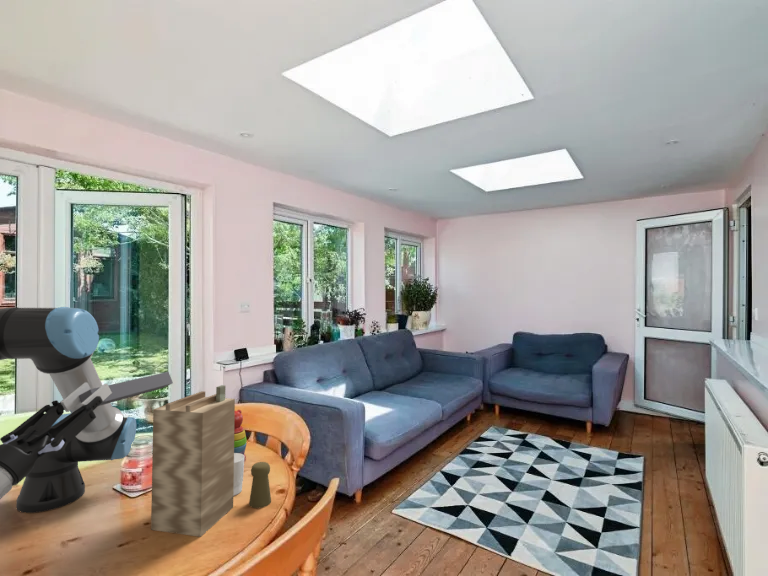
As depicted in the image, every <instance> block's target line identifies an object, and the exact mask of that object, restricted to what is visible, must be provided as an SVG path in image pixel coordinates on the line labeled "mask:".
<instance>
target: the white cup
mask: <svg viewBox="0 0 768 576" xmlns="http://www.w3.org/2000/svg"><path fill="white" fill-rule="evenodd" d="M244 469H245V462H244V455H243V454H240V453H234V487H233V497H235V496H237V495H239V494H240V493H241V492H242V491H243V490H242V489H243V481H244Z"/></svg>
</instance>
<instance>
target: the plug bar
mask: <svg viewBox="0 0 768 576" xmlns="http://www.w3.org/2000/svg"><path fill="white" fill-rule="evenodd" d="M173 384H174V383H173V380H172V377H171V374H170V372H169V371H165V372H161V373H157V374H152V375H148V376H143V377H139V378H135V379H134V378H133V379H130V380H125V381H122V382H117V383H113V384H108V386H109V388H110V390H111V392H112V393H111V394H110V395H109V396H108V397H107V398H106V399H105V400H104V401H103V402H102V403H101V404H100V405H104V404H108V403H114V402H119V401H122V400H126V399H129V398H133V397H135V396H139V395H144V394H147V393H150V392H154V391H157V390H160V389H164V388H166V387H168V386H170V385H173ZM99 388H100V387H99ZM99 388H94V389H90V390H88V391H86V392H85V393H83V394H81V395H79V398H80V401H81V403H82V402H84V401H85V400H86V399H87V398H88V397H89V396H91V395H92V394H93V393H94V392H95V391H97V390H98V389H99ZM100 405H99V406H100Z"/></svg>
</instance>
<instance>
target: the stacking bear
mask: <svg viewBox="0 0 768 576" xmlns="http://www.w3.org/2000/svg"><path fill="white" fill-rule="evenodd" d="M243 420H244V419H243V414H242V410H241V409H237V410H235V421H234V453H240V454H243V455H244V463H245V462H246V460H247V458H246V457H247V456H246V454H245V451H246V448H247V441H248V440H247V436H246V430H245V428H244V427H243V426H242V425H243Z"/></svg>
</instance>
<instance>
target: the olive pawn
mask: <svg viewBox="0 0 768 576" xmlns="http://www.w3.org/2000/svg"><path fill="white" fill-rule="evenodd" d="M270 472H271V466H270V464H269V463H268V462H266V461H259V462H256V463H254V464H253V465H252V466H251V470H250V473H251V476H252V480H251V482H252V483H251V489H250V497H249V502H248V506H249V507H250V508H252V509H262V508H265V507H268V506H269V505H270V504H271V503H272V497H271V487H270V481H269V475H270Z"/></svg>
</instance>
